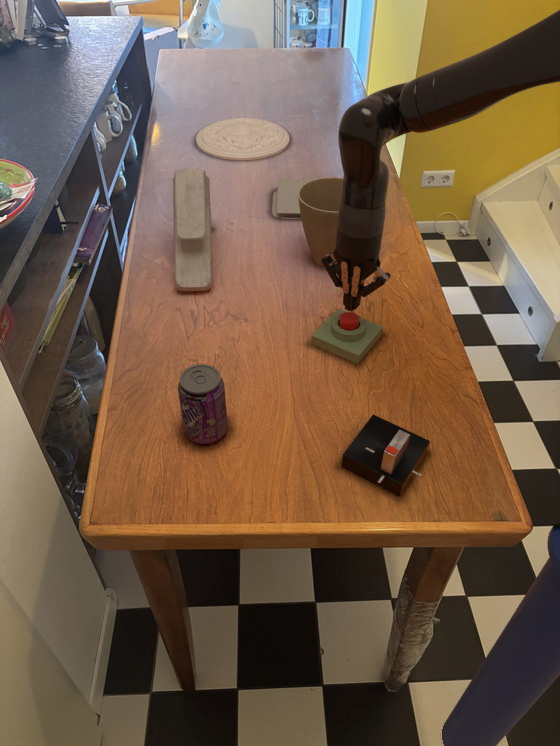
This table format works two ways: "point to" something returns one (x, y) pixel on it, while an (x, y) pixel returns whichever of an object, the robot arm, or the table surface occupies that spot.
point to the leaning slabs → (192, 230)
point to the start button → (349, 321)
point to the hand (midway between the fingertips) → (350, 308)
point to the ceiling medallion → (242, 139)
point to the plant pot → (320, 214)
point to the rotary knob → (395, 452)
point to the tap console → (370, 450)
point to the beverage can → (203, 403)
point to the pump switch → (347, 337)
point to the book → (287, 198)
